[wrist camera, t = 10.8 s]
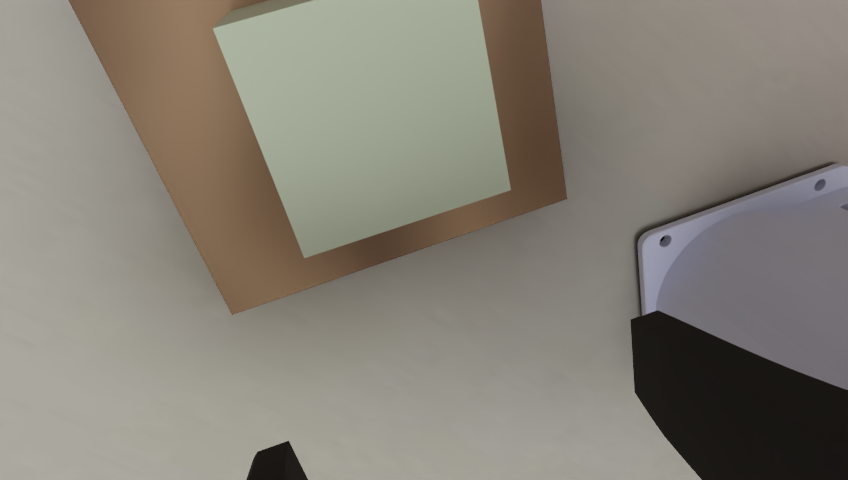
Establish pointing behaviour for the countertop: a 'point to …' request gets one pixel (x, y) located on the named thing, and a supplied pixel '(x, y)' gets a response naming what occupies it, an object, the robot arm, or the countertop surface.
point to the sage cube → (367, 110)
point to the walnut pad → (243, 159)
